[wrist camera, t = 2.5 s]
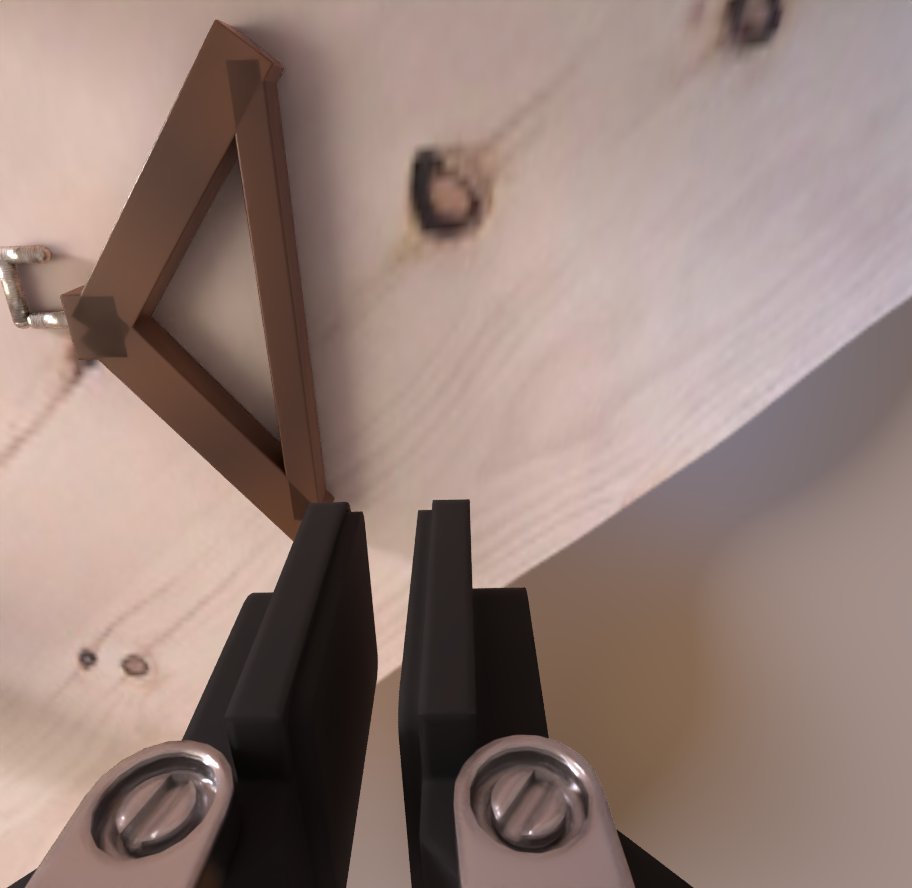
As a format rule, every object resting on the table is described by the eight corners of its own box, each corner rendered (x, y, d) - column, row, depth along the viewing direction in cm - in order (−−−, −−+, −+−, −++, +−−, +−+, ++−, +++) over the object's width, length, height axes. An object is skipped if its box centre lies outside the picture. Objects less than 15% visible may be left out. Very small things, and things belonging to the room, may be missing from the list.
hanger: (82, 527, 30) (63, 547, 28) (-67, 35, 22) (-104, 29, 20) (337, 521, 30) (331, 541, 28) (279, 24, 22) (267, 17, 20)
